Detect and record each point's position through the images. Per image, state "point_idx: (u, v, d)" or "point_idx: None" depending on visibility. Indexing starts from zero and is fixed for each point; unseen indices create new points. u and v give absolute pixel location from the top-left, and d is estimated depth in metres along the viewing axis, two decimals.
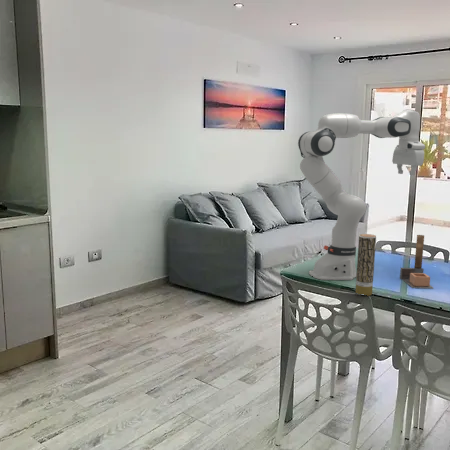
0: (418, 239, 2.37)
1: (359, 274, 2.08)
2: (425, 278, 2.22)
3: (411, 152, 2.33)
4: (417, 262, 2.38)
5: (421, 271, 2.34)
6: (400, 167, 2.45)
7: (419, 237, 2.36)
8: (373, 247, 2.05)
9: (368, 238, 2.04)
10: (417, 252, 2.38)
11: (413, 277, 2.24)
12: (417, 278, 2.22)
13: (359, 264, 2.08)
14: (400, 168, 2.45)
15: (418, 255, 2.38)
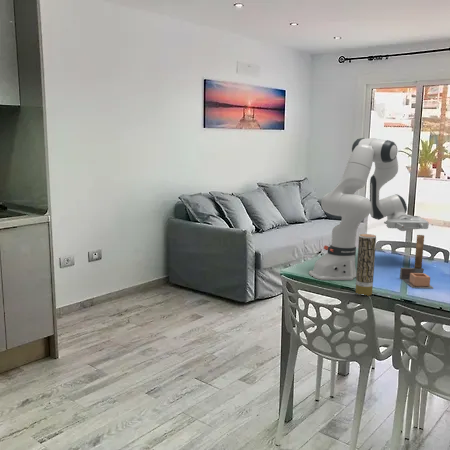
0: (418, 239, 2.37)
1: (359, 274, 2.08)
2: (425, 278, 2.22)
3: (416, 219, 2.59)
4: (417, 262, 2.38)
5: (421, 271, 2.34)
6: None
7: (419, 237, 2.36)
8: (373, 247, 2.05)
9: (368, 238, 2.04)
10: (417, 252, 2.38)
11: (413, 277, 2.24)
12: (417, 278, 2.22)
13: (359, 264, 2.08)
14: None
15: (418, 255, 2.38)
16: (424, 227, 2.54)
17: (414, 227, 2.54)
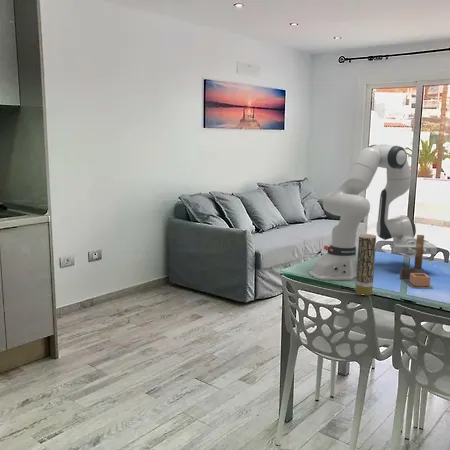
0: (418, 239, 2.37)
1: (359, 274, 2.08)
2: (425, 278, 2.22)
3: (424, 244, 2.48)
4: (417, 262, 2.38)
5: (421, 271, 2.34)
6: None
7: (419, 237, 2.36)
8: (373, 247, 2.05)
9: (368, 238, 2.04)
10: (417, 252, 2.38)
11: (413, 277, 2.24)
12: (417, 278, 2.22)
13: (359, 264, 2.08)
14: None
15: (418, 255, 2.38)
16: (432, 252, 2.43)
17: None
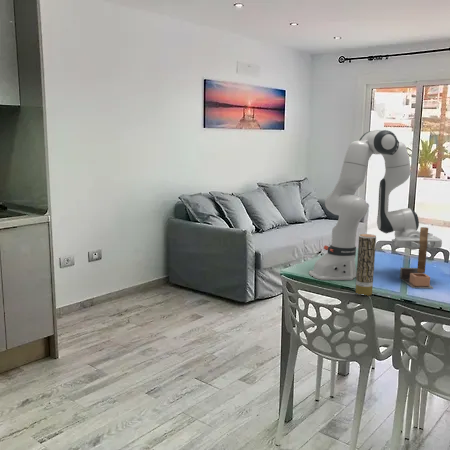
0: (422, 232, 2.21)
1: (359, 274, 2.08)
2: (425, 278, 2.22)
3: (428, 237, 2.32)
4: (421, 257, 2.22)
5: None
6: None
7: (423, 230, 2.20)
8: (373, 247, 2.05)
9: (368, 238, 2.04)
10: (421, 246, 2.22)
11: (413, 277, 2.24)
12: (417, 278, 2.22)
13: (359, 264, 2.08)
14: None
15: (422, 249, 2.22)
16: (437, 246, 2.27)
17: None
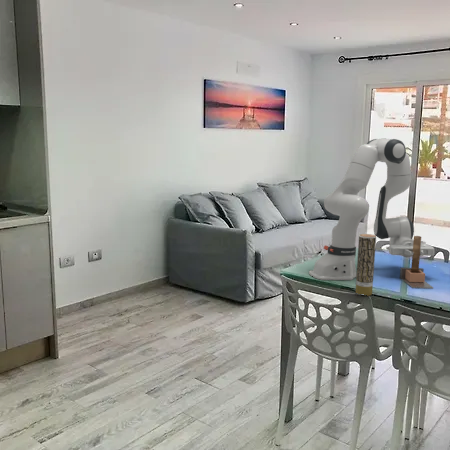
0: (415, 240, 2.28)
1: (359, 274, 2.08)
2: (420, 274, 2.28)
3: (421, 245, 2.39)
4: (414, 264, 2.30)
5: None
6: None
7: (416, 238, 2.28)
8: (373, 247, 2.05)
9: (368, 238, 2.04)
10: (414, 254, 2.29)
11: (408, 274, 2.30)
12: (412, 274, 2.28)
13: (359, 264, 2.08)
14: None
15: (415, 257, 2.29)
16: (430, 254, 2.34)
17: None
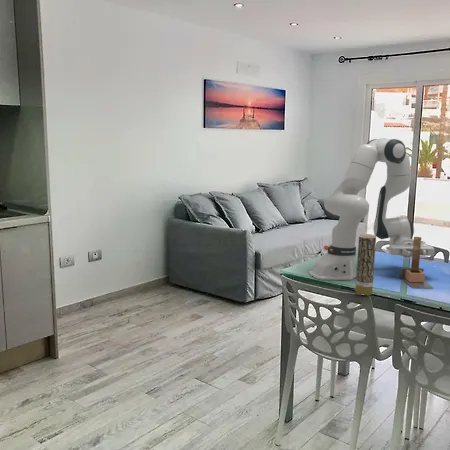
0: (415, 241, 2.28)
1: (359, 274, 2.08)
2: (420, 274, 2.28)
3: (421, 245, 2.39)
4: (414, 265, 2.30)
5: None
6: None
7: (416, 239, 2.28)
8: (373, 247, 2.05)
9: (368, 238, 2.04)
10: (414, 255, 2.29)
11: (408, 273, 2.30)
12: (412, 274, 2.28)
13: (359, 264, 2.08)
14: None
15: (415, 258, 2.29)
16: (430, 254, 2.34)
17: None
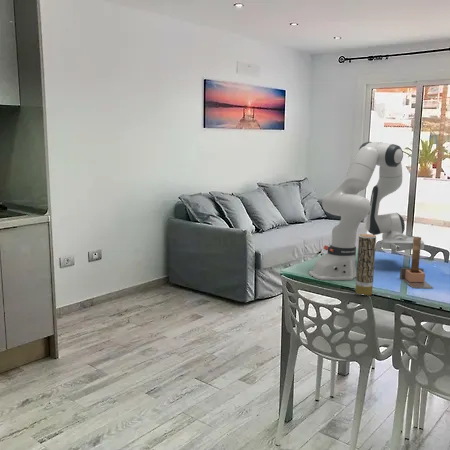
0: (415, 241, 2.28)
1: (359, 274, 2.08)
2: (420, 274, 2.28)
3: (412, 239, 2.52)
4: (414, 265, 2.30)
5: None
6: None
7: (416, 239, 2.28)
8: (373, 247, 2.05)
9: (368, 238, 2.04)
10: (414, 255, 2.29)
11: (408, 273, 2.30)
12: (412, 274, 2.28)
13: (359, 264, 2.08)
14: None
15: (415, 258, 2.29)
16: (420, 248, 2.47)
17: (409, 248, 2.47)
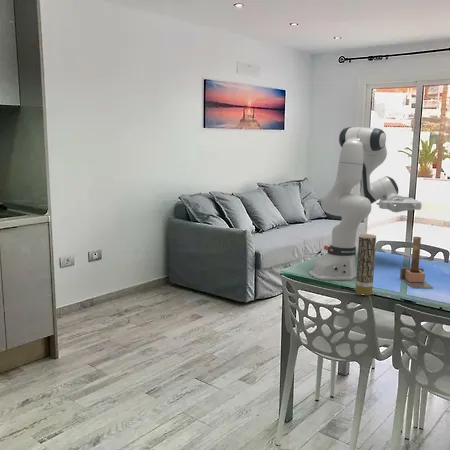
0: (414, 241, 2.28)
1: (359, 274, 2.08)
2: (420, 274, 2.28)
3: (409, 200, 2.56)
4: (414, 265, 2.30)
5: None
6: None
7: (415, 239, 2.28)
8: (373, 247, 2.05)
9: (368, 238, 2.04)
10: (414, 255, 2.29)
11: (408, 273, 2.30)
12: (412, 274, 2.28)
13: (359, 264, 2.08)
14: None
15: (415, 258, 2.29)
16: (417, 208, 2.51)
17: (407, 208, 2.51)
